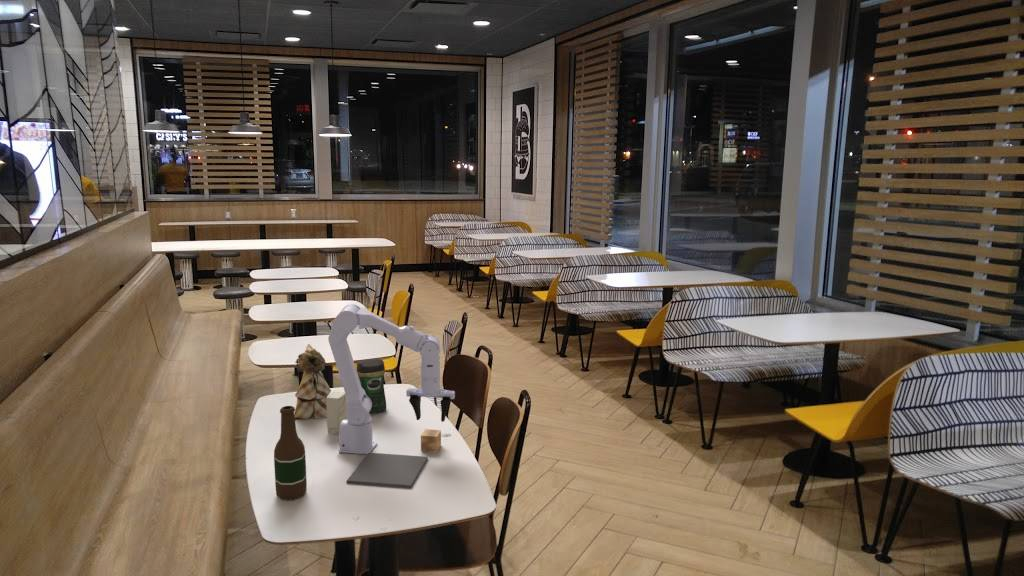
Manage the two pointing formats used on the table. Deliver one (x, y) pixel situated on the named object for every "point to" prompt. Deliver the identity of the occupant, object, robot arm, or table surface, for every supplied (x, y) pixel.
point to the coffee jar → (373, 382)
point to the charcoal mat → (388, 470)
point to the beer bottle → (289, 459)
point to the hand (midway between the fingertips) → (430, 419)
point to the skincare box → (335, 411)
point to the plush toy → (311, 386)
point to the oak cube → (430, 440)
